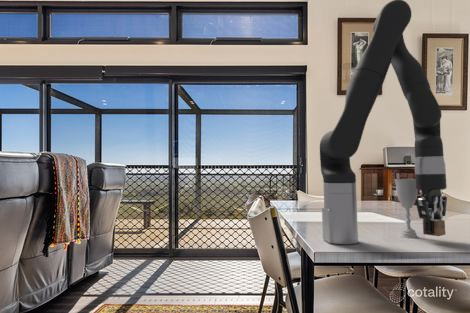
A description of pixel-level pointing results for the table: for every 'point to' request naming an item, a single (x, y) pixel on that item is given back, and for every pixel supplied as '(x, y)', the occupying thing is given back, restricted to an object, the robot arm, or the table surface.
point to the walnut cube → (437, 227)
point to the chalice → (407, 202)
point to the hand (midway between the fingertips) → (433, 232)
